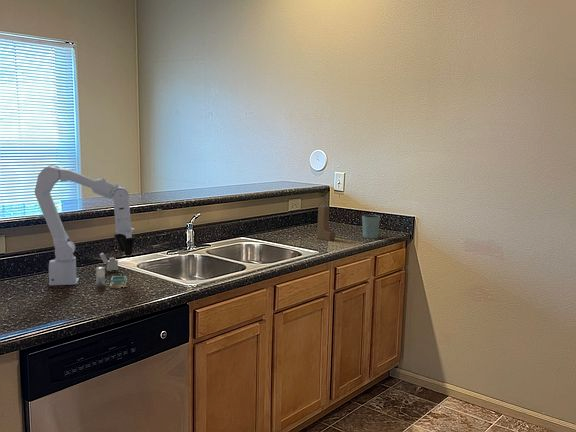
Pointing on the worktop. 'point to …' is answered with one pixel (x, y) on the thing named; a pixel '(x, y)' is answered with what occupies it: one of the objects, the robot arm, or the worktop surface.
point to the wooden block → (324, 224)
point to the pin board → (118, 281)
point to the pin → (100, 276)
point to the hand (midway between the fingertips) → (126, 253)
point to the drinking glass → (370, 226)
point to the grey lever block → (110, 262)
